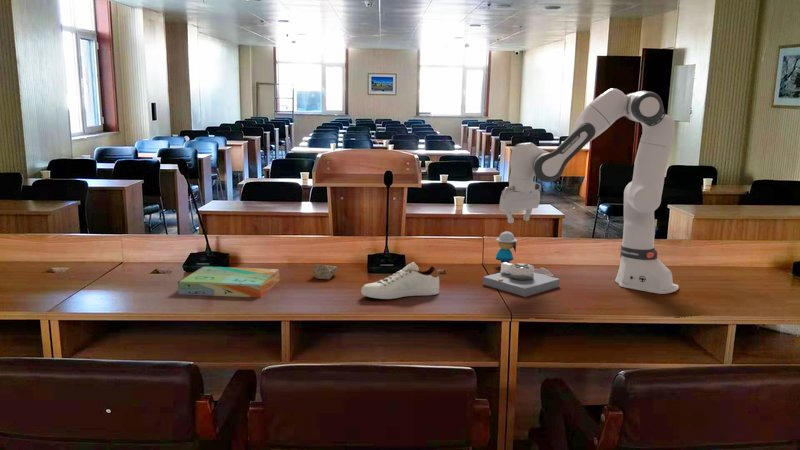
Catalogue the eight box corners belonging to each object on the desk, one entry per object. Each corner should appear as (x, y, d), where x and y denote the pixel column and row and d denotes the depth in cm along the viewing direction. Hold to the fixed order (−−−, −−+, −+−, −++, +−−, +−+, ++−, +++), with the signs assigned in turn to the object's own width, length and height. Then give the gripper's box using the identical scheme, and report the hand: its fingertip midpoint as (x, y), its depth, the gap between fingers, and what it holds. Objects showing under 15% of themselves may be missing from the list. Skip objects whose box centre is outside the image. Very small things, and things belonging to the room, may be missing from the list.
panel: (559, 286, 234) (559, 277, 233) (525, 296, 221) (525, 287, 221) (517, 275, 249) (517, 266, 248) (482, 284, 236) (483, 275, 236)
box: (203, 266, 242) (279, 268, 239) (204, 278, 243) (279, 281, 240) (177, 281, 221) (260, 284, 218) (178, 295, 222) (260, 298, 219)
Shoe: (356, 295, 222) (356, 262, 220) (431, 287, 232) (431, 255, 230) (365, 303, 213) (365, 269, 211) (442, 295, 223) (443, 262, 221)
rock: (337, 273, 240) (324, 257, 239) (321, 287, 241) (307, 271, 240) (341, 267, 250) (328, 252, 249) (325, 280, 251) (312, 265, 250)
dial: (538, 277, 234) (539, 265, 233) (523, 281, 228) (523, 269, 227) (510, 270, 244) (511, 259, 243) (495, 273, 238) (495, 262, 238)
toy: (517, 269, 258) (519, 233, 255) (496, 269, 258) (497, 233, 255) (514, 264, 266) (516, 229, 264) (493, 264, 267) (495, 229, 264)
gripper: (509, 188, 228) (507, 225, 231) (543, 184, 242) (541, 220, 244) (496, 186, 233) (494, 223, 236) (530, 183, 246) (528, 217, 249)
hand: (518, 221), depth 240 cm, fingers open, 8 cm apart
